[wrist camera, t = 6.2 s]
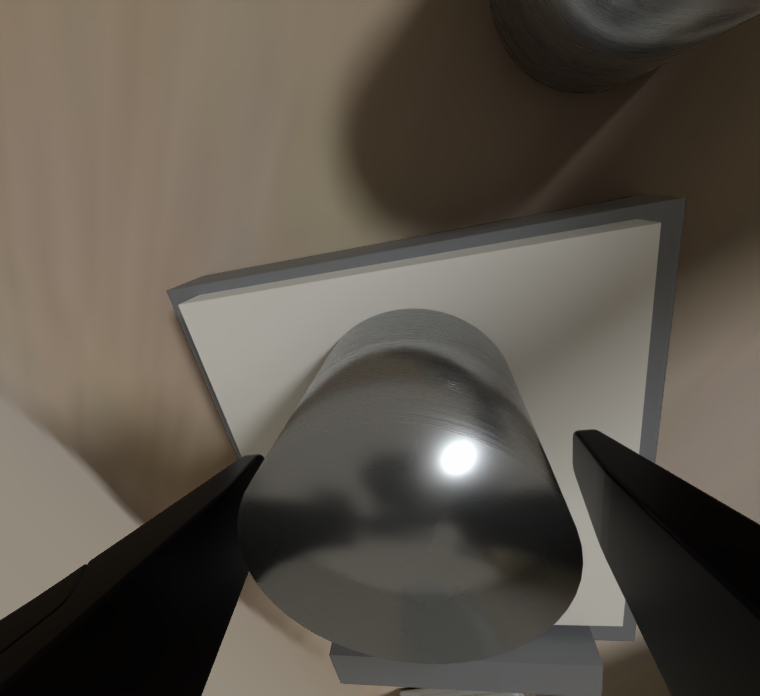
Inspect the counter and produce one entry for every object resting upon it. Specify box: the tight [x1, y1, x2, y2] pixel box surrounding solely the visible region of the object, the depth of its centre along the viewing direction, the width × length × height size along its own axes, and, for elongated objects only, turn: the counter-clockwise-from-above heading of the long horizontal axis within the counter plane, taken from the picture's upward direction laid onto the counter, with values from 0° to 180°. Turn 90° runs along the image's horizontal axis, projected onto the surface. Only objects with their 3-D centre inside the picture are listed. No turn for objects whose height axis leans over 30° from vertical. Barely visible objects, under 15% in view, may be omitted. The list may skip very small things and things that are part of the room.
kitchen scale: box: [167, 195, 686, 696], centre depth 13 cm, size 14×17×4 cm
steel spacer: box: [237, 308, 583, 664], centre depth 8 cm, size 6×6×5 cm
